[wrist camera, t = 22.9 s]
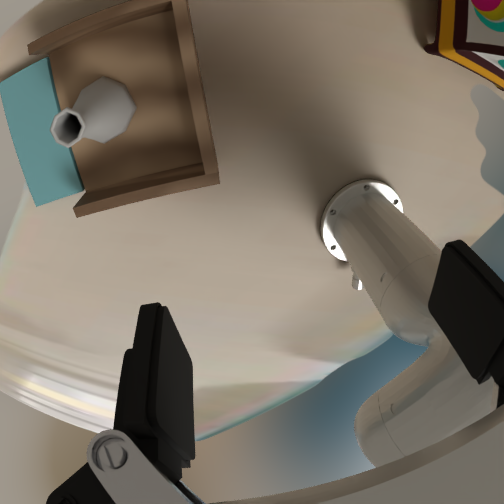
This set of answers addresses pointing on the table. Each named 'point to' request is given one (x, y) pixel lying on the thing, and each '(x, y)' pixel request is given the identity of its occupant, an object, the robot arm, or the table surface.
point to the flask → (95, 114)
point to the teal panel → (39, 133)
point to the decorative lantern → (472, 36)
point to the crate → (137, 101)
